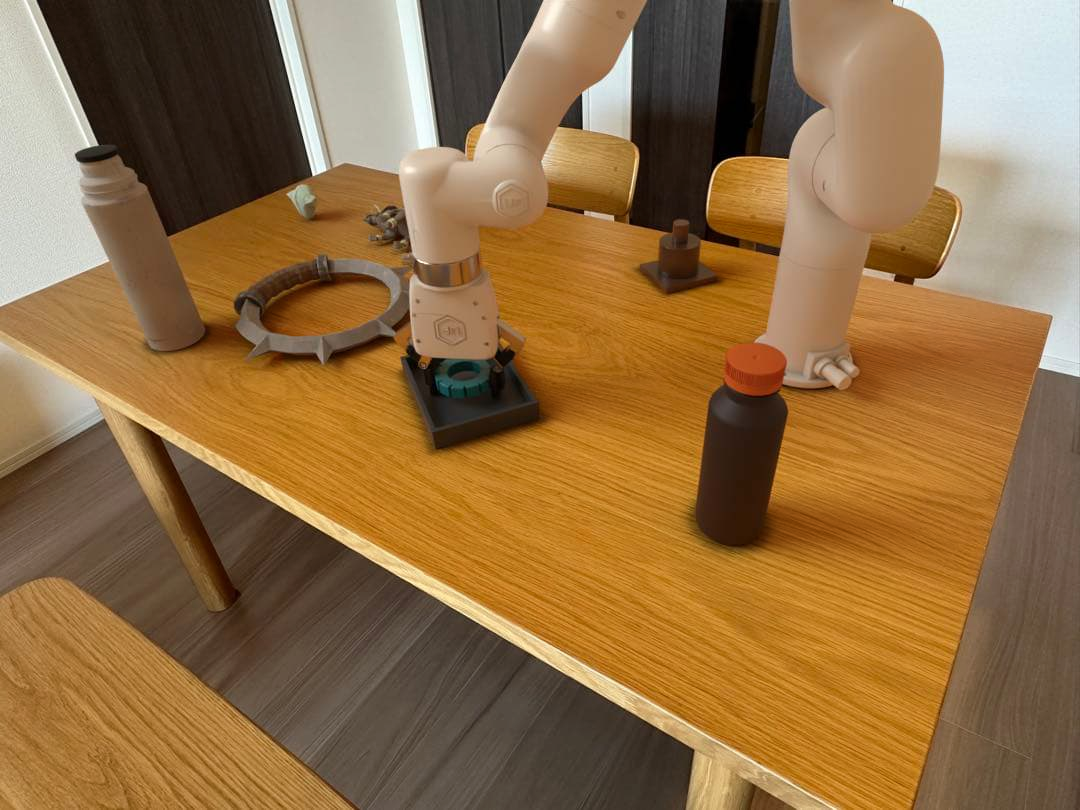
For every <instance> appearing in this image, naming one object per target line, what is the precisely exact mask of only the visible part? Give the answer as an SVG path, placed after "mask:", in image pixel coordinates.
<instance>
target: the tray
mask: <svg viewBox="0 0 1080 810" xmlns="http://www.w3.org/2000/svg"><path fill="white" fill-rule="evenodd" d="M498 345H499V346H500V348H501V349H502V350H504V349H505V348H504V347H503V345H502V344H501V342H500V340H498ZM399 358H400V363H401V367H402V372H403V375H404V377H405V380H406V382H407V384H408V387H409V390H410V391H411V394H412V396H413V399H414V401H415V404H416V406H417V408H418V411H419V413H420V416H421V418H422V421H423V423H424V426H425V428H426V430H427V432H428V435H429V438H430V440H431V442H432V445H433V447H434V450H437V449H440V448H444V447H447V446H451V445H454V444H457V443H462V442H464V441H465V442H466V441H468V440H471V439H475V438H479V437H482V436H485V435H489V434H492V433H496V432H499V431H502V430H506V429H510V428H514V427H517V426H521V425H524V424H527V423H530V422H533V421H538V420H540V418H541V417H540V403H539V401H538V399H537V398H536V396H535V394H534V393H533V391H532V390H531V389H530V387H529V385H528V384H527V383H526V381H525V379H524V377H523V376H522V374H521V373H520V371H519V370H518V368H517V367H516V365H515V364H514V362H513V360H512V361H511V362H509V363H508V364H507V365H506V366H505V367H504V372H505V387H504V389H500V392H499V395H498V398H493V397H492V396H491V388H490V389H489V390H487V391H486V392H485V393H483V394H482V393H480V395H479V396H475V397H471V398H467V396H466V397H465V399H461V398H452V396H451V397H448V396H446V395H444V394H442V393H441V392H440V391H439V390H438V392H437V394H435V395H431V394H430V389H429V385H426V382H425V377H424V372H423V369H422V368H420V367H419V365H418V362H417V361H415V360H414V359H413V358H412V357H410V356H409V355H408V354H406V355H402V356H400V357H399ZM438 359H439V364H440V363H442V362H443V361H445V360H446V358H438ZM450 360H451V359H450ZM478 375H479V374H478V373H476V372H474V371H463V372H459V373H456V374H455V375H453V376H452V377H450V378H451V379H453V380H456V381H466V380H470V379H474V378H475V377H477V376H478Z"/></svg>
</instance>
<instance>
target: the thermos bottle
mask: <svg viewBox="0 0 1080 810" xmlns="http://www.w3.org/2000/svg"><path fill="white" fill-rule="evenodd" d="M119 153H120V151H119V149H118V147H117V146H116V145H115V144H99V145H94V146H93V145H92V146H89V147H85V148H83V149H80V150H78V151H76V152H75V154H74V157H75V160H76V161H77V163H78V164H79V165H78V166H79V169H80V171H81V174H82V176H81V177H80V179H79V180H78V184H79V186H80V191H81V192H82V193H83V196H82V197H81V198H80V203H81V205H82V208H83V209H84V211H85V213H86V216H87V218H88V219H89V222H90V224H91V225H92V228H93V229H94V231H95V234H96V236H97V239H98V240H99V242H100V245H101V246H102V249H103V251H104V253H105V256H106V257H107V259H108V261H109V263H110V266H111V267H112V269H113V272H114V274H115V276H116V278H117V280H118V282H119V285H120V286H121V289H122V291H123V293H124V295H125V297H126V299H127V301H128V303H129V305H130V307H131V309H132V310H131V311H132V312H133V314H134V316H135V318H136V320H137V322H138V325H139V327H140V328H141V330H142V333H143V335H144V337H145V340H146V342H147V343H148V346H149V347H150V349H152V350H155V351H159V352H173V351H179V350H181V349H185V348H188V347H189V346H191V345H194V344H195V343H197V342H198V341H200V340H201V339H202V338H203V337H204V335H205V333H206V327H205V325H204V323H203V321H202V318H201V315H200V313H199V310H198V308H197V305H196V303H195V301H194V298H193V295H192V293H191V290H190V289H189V286H188V284H187V281H186V279H185V277H184V273H183V271H182V269H181V267H180V263H179V262H178V260H177V257H176V255H175V252H174V250H173V247H172V245H171V242H170V240H169V237H168V235H167V233H166V230H165V227H164V226H163V223H162V221H161V218H160V216H159V213H158V211H157V208H156V206H155V204H154V203H155V202H154V201H153V198H152V196H151V194H150V191H149V189H148V186H147V185H145V184H144V183H141V182H140V181H139V180H138V174H137V173H135V170H134V169H132V167H131V168H130V167H127V166H125V164H124V163H123V160H122V158H121V156H119Z"/></svg>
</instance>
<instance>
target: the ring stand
mask: <svg viewBox="0 0 1080 810" xmlns="http://www.w3.org/2000/svg"><path fill="white" fill-rule="evenodd" d="M689 231H690V221H689V220H687V219H681V218H680V219H679V218H678V219H675V220H674V221H673V223H672V232H669V233H666V234H663V235H662V236H661V237H660V238H659V239H658V255H657V259H656V260H652V261H648V262H644V263H640V264H639V271H640V273H643V274H644V276H646V277H647V278H648V279H649V280H650V281H651V282H652V283H653V284H655V285H656V286H657V287H658V288H660V290H661V291H663V292H664V293H665V294H666V295H668V294H671V293H675V292H679V291H684V290H687V289H688V290H689V289H692V288H696V287H699V286H703V285H706V284H711V283H715V282H717V281H718V275H717V274H716V273H715V272H714V271H713V270H711V269H710V268H709V267H707V266H706V265H705V264H703V263H702V262H700V256H701V255H700V254H701V245H702V240H701V238H700V237H699V236H698V235H696V234H694V233H689Z"/></svg>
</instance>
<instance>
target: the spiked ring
mask: <svg viewBox="0 0 1080 810" xmlns="http://www.w3.org/2000/svg"><path fill="white" fill-rule="evenodd" d="M412 270H414V269H413V268H412V267H410V266H409V265H404V266H395V267H388V266H387V265H383V264H381V263H378V262H375V261H371V260H366V259H360V258H359V259H358V258H352V257H351V258H329V257H328V255H327V253H321V254H317V255H316V258H315V259H309V260H306V261H302V262H300V261H299V262H295V263H292V264H290V265H289V266H285V267H281V268H278V269H276V270H275V271H274V272H272V273H270V274H267V275H265V276H262V277H261V278H260V280H258V281H256V282H254V283H253V284H251V285H250V286H249V287H248V288H247V289H246V290H243V291H241V292H240V291H239V292H238V293H237V295H236V297H235V298H234V300H233V310H234V311H235V313H236V314H237V315H238V316H239V319H238V320H237V322H236V324H235V325H234V327H235V329H236V330H237V331H238V333H240V335H241V336H242V337H244V338H245V339H246V340H247V341H249V342H251V343H252V344H254V345H256V346H254V348H253V349H252V351H251V352H250V353H249V354H248V355H247V356H246V358H245V359H244V360H243V361H244V362H246V361H249V360H251V359H254V358H257V357H260V356H264V355H267V354H269V353H273V352H277V353H282V354H288V355H292V356H293V355H294V356H315V355H317V357H318V359H319V361H320V363H321V364H322V366H323V367H325V365H326V363H327V361H328V360H329V357H330V356H331V355H332V354H335V353H340V352H344V351H348V350H351V349H355V348H358V347H360V346H363V345H366V344H368V343H369V342H372V341H373V340H376V339H378V338H380V337H385V338H394V336H395V334H396V333H397V331H395V330H394V329H393V328H394V326H396V325H397V324H398V323H399V322H400V321H401V320H402V319H403V317H404V316H405V315H406V313H407V312H408V311H409V310H410V300H409V287H410V282H409V281H408V280H407V279H406V278H405V277H404V276H405V275H406V274H408V273H409V272H411V271H412ZM349 276H350V277H351V276H353V277H361V278H362V277H363V278H370V279H373V280H377V281H380V282H382V283H384V284H385V286H387V288H388V289H389V292H390V303H389V306H388V307H387V308H386V310H385V311H383V312H382V313H381V314H379V315H378V316H376V317H375V318H373V319H370V320H369V321H366V322H364V323H362V324H360V325H358V326H355V327H352V328H349V329H344V330H342V331H338V332H333V333H327V334H320V335H303V336H302V335H301V336H300V335H299V336H293V335H292V336H291V335H287V334H286V335H285V334H281V333H280V334H279V333H274V332H271V331H270V330H268V329H267V328H266V327H265V326H264V325H263V323H262V321H261V319H260V318H261V317H262V316H263V315H264V314H265V312H266V308H267V307H266V306H267V304H268V303H269V302H270V301H271V300H272V298H276V297H277V296H279V295H280V294H281V293H283V292H284V291H290V290H291V289H292V288H294V287H296V286H298V285H300V286H302V285H304V284H307V283H309V282H311V281H319V280H320V281H321V283H326V282H327V283H329V282H331V281H332V280H333V279H332V277H349Z"/></svg>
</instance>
